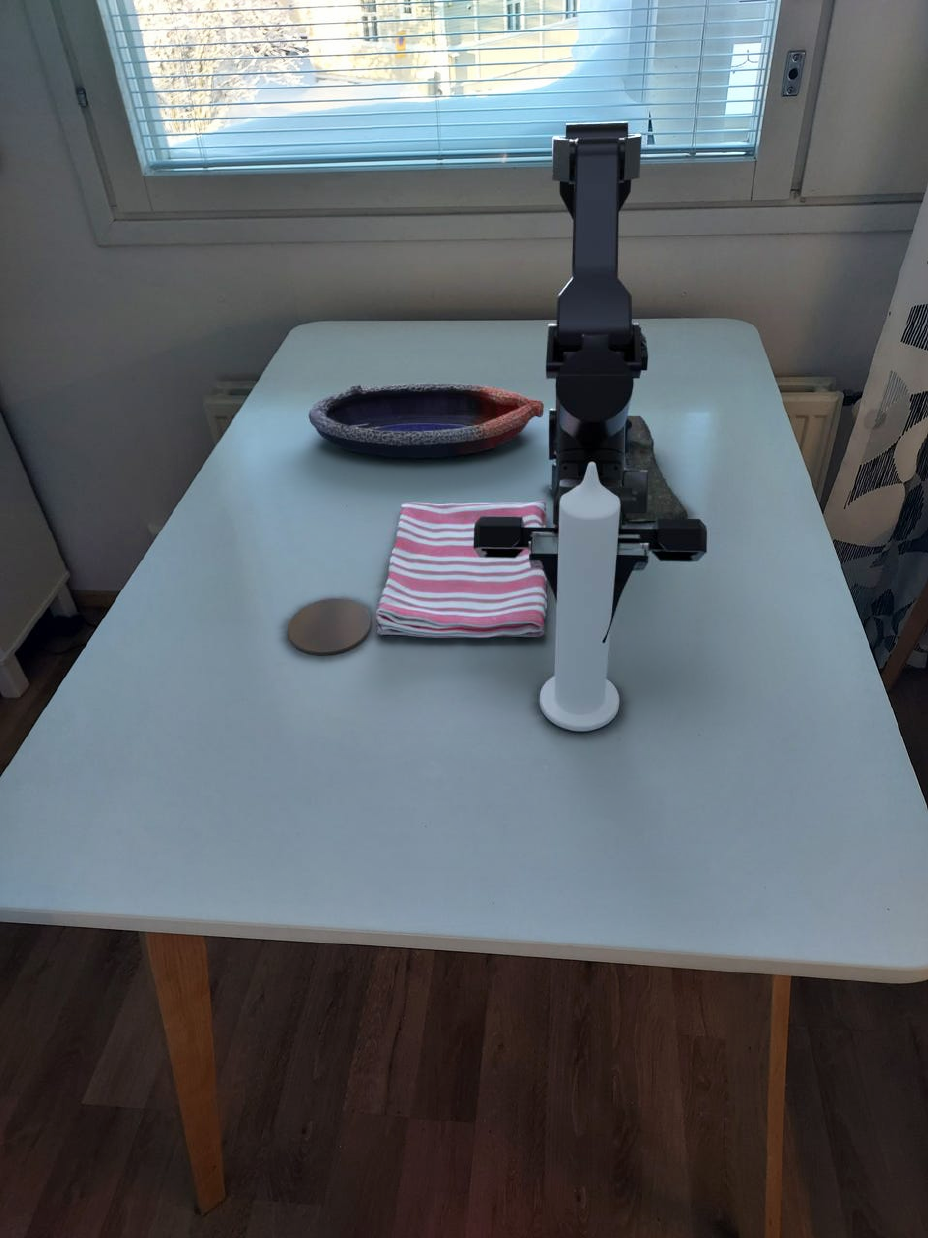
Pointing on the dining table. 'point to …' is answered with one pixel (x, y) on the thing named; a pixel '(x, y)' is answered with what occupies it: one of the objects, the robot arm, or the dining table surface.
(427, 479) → the dining table surface
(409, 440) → the dish
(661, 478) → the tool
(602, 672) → the candle
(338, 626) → the coaster
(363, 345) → the dining table surface
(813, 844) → the dining table surface
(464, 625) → the dish towel
